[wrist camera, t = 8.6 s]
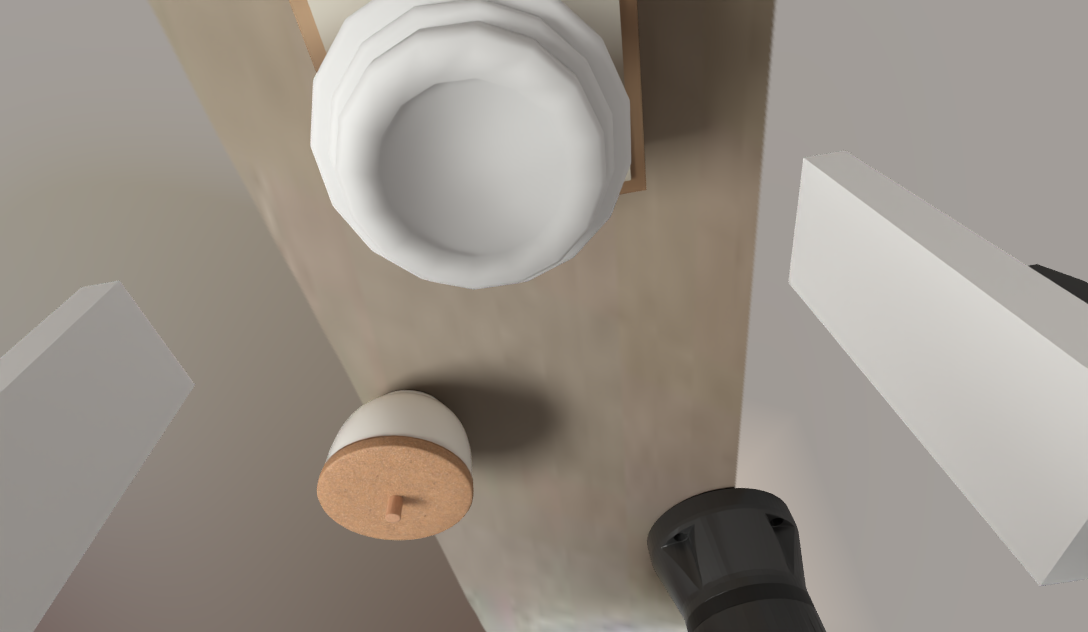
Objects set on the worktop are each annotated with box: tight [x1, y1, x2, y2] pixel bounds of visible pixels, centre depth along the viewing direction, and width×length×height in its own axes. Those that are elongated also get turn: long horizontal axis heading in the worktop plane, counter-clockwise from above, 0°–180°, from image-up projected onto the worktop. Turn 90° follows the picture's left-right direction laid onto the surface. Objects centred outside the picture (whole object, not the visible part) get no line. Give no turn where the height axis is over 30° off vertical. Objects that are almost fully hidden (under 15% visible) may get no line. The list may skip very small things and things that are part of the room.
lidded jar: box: [317, 390, 473, 540], centre depth 41 cm, size 11×11×9 cm
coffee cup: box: [310, 0, 631, 289], centre depth 19 cm, size 9×9×12 cm
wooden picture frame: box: [289, 0, 646, 195], centre depth 26 cm, size 14×14×6 cm
